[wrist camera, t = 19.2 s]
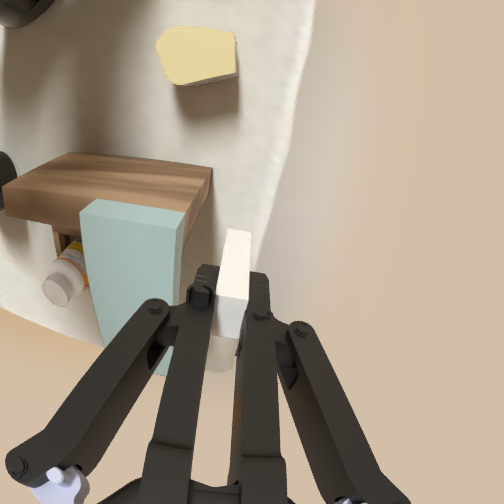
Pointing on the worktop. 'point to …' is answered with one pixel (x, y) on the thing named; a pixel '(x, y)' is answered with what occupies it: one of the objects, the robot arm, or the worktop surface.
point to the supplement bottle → (67, 275)
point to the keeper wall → (105, 187)
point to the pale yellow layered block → (197, 55)
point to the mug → (5, 174)
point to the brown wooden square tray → (64, 238)
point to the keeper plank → (131, 261)
